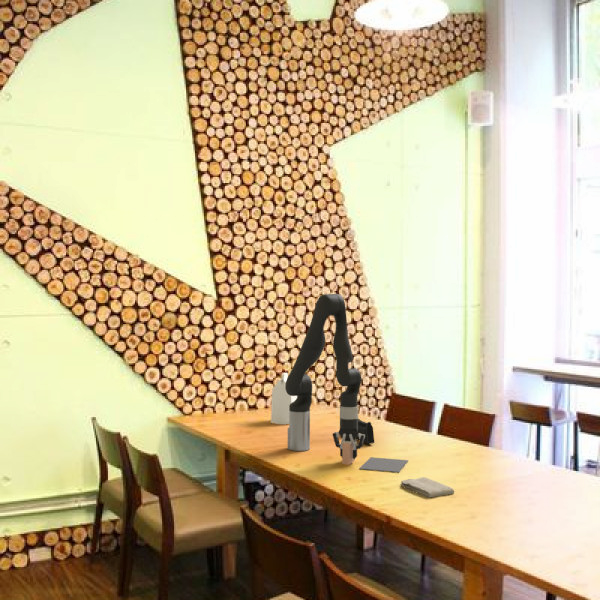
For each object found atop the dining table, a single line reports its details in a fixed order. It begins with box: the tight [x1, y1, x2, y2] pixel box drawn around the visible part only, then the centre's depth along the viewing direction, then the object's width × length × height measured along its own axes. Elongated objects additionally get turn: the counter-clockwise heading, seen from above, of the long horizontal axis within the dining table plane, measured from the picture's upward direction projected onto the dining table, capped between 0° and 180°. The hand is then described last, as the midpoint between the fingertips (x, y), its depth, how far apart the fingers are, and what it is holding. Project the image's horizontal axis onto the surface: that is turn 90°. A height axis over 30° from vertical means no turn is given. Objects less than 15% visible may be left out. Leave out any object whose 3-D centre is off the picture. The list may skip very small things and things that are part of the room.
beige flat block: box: [341, 441, 356, 466], centre depth 304 cm, size 3×9×9 cm, turn 161°
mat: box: [358, 456, 409, 474], centre depth 299 cm, size 16×20×1 cm
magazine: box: [356, 418, 375, 445], centre depth 348 cm, size 17×3×30 cm
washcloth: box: [399, 476, 455, 499], centre depth 264 cm, size 12×18×3 cm, turn 30°
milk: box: [270, 372, 297, 425], centre depth 391 cm, size 12×12×26 cm
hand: (348, 457), depth 304 cm, fingers open, 4 cm apart
